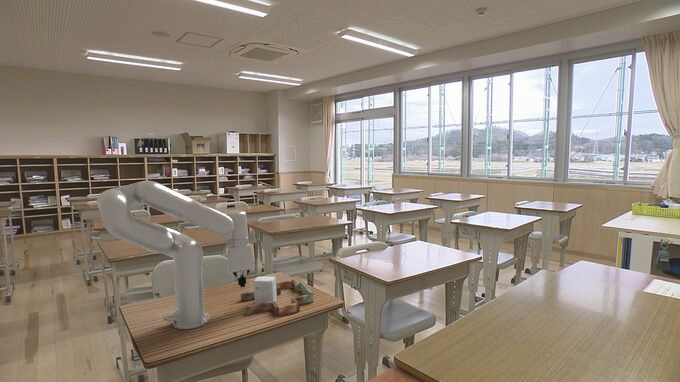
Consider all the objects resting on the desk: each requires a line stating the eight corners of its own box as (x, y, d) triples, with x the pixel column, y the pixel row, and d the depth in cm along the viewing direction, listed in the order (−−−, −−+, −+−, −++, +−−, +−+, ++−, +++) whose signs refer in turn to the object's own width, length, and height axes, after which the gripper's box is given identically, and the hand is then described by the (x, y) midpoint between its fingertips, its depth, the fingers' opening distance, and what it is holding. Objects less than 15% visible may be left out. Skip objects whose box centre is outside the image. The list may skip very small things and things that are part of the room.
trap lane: (250, 320, 138) (249, 310, 137) (238, 295, 163) (238, 286, 163) (318, 307, 149) (318, 297, 148) (297, 285, 174) (297, 276, 174)
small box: (277, 300, 156) (276, 276, 155) (273, 306, 151) (272, 281, 150) (258, 300, 157) (257, 276, 156) (254, 305, 152) (253, 280, 151)
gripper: (220, 247, 141) (224, 293, 143) (259, 241, 147) (262, 285, 149) (218, 242, 148) (222, 286, 150) (255, 237, 154) (259, 279, 156)
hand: (242, 286), depth 150 cm, fingers closed
